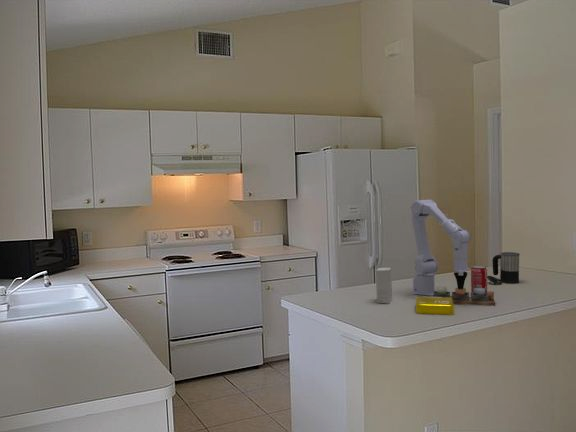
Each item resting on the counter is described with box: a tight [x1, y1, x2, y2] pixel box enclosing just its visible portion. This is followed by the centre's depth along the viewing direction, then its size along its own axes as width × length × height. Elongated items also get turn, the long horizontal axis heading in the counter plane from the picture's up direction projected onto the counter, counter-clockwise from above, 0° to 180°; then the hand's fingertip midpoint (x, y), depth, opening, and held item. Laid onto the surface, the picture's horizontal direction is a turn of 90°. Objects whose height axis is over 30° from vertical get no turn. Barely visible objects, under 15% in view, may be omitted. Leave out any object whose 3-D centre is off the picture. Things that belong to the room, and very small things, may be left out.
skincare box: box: [375, 267, 393, 305], centre depth 251 cm, size 8×6×15 cm
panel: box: [427, 290, 496, 307], centre depth 248 cm, size 28×10×5 cm, turn 74°
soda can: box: [470, 265, 488, 293], centre depth 261 cm, size 7×7×13 cm
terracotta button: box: [454, 287, 467, 295], centre depth 248 cm, size 4×4×3 cm
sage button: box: [435, 285, 448, 294], centre depth 250 cm, size 4×4×3 cm
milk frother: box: [487, 251, 521, 285], centre depth 285 cm, size 14×16×15 cm
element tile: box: [415, 295, 455, 316], centre depth 235 cm, size 15×15×5 cm
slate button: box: [474, 288, 485, 296], centre depth 245 cm, size 4×4×3 cm
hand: (460, 288), depth 248 cm, fingers closed, pressing on terracotta button
